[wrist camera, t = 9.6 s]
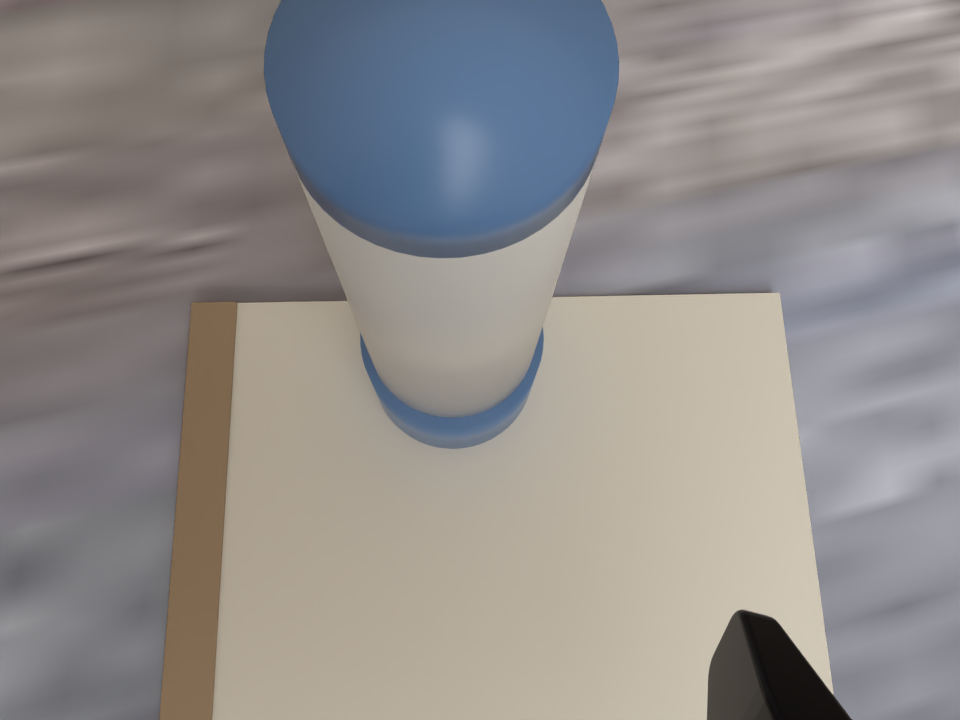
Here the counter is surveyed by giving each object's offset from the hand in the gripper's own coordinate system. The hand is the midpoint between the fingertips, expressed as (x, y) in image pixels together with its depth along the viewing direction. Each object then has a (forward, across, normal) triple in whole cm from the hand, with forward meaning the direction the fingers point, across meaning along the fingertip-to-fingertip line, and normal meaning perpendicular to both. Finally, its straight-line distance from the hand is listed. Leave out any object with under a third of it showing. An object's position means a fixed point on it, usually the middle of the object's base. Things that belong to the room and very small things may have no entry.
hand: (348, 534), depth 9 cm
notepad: (+8, -2, +8) cm, 12 cm away
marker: (+11, 0, +4) cm, 12 cm away
